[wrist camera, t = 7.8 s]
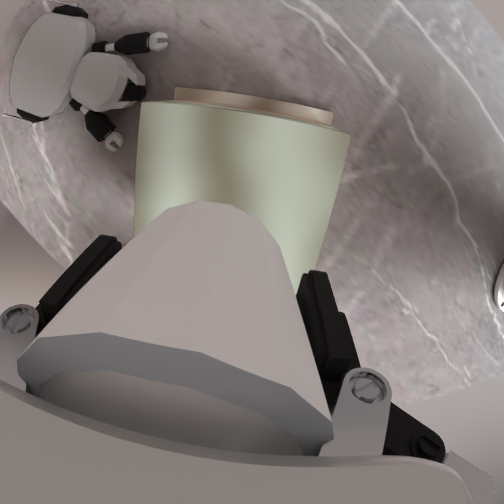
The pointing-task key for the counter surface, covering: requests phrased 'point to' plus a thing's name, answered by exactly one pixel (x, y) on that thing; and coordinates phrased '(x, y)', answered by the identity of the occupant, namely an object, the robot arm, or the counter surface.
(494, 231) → the counter surface
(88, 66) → the robot toy
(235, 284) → the shot glass
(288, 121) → the patterned box
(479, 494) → the robot arm
